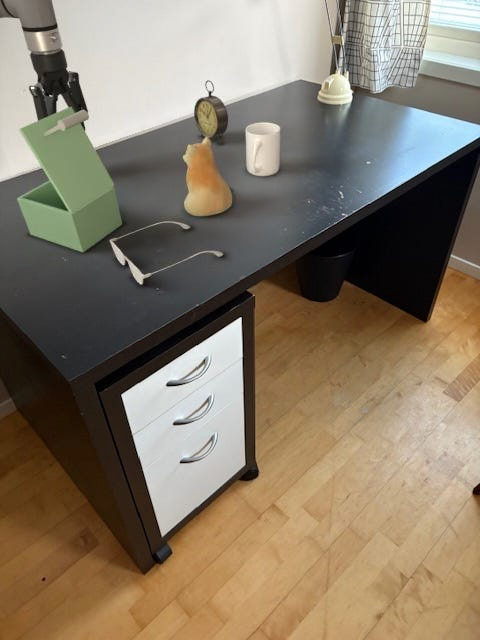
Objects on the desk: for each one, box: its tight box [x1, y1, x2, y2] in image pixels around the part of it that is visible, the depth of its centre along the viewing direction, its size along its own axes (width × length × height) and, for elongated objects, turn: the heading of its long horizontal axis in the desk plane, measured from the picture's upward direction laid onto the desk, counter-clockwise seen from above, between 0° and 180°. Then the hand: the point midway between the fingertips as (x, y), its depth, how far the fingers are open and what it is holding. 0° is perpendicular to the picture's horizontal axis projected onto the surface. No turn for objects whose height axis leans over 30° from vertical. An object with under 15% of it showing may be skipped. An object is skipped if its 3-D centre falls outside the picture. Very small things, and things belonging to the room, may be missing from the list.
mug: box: [245, 122, 281, 177], centre depth 120 cm, size 9×12×11 cm
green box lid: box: [18, 107, 115, 213], centre depth 90 cm, size 17×13×8 cm
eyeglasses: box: [109, 220, 224, 285], centre depth 95 cm, size 15×18×4 cm
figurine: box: [182, 137, 233, 217], centre depth 107 cm, size 12×13×15 cm
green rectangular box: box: [16, 179, 123, 253], centre depth 103 cm, size 16×13×9 cm
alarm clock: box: [193, 79, 229, 145], centre depth 136 cm, size 11×5×16 cm, turn 42°
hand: (72, 150), depth 123 cm, fingers closed on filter, 7 cm apart
